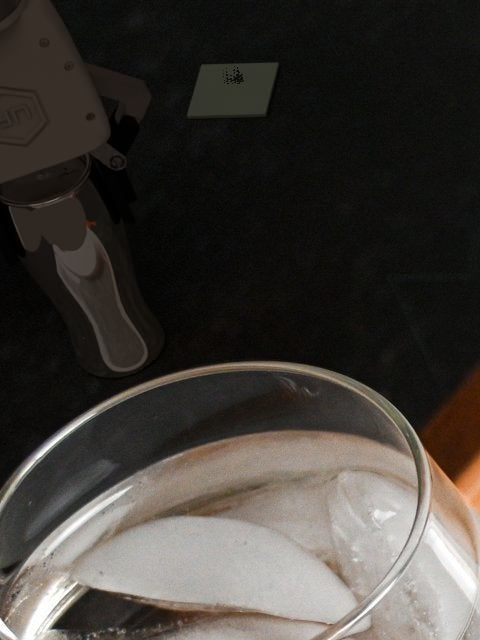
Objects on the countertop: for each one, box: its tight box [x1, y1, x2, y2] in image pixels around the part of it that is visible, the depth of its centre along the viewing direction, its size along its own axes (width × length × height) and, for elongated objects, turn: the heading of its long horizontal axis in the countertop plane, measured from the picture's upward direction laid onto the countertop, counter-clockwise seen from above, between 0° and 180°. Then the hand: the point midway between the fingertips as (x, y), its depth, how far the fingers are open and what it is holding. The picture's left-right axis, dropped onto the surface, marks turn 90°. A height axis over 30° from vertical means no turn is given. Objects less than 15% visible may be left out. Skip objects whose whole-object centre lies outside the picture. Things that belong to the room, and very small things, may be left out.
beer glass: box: [0, 153, 166, 379], centre depth 126 cm, size 7×7×15 cm
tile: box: [186, 62, 280, 120], centre depth 146 cm, size 6×6×1 cm
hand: (67, 230), depth 123 cm, fingers closed on beer glass, 7 cm apart
